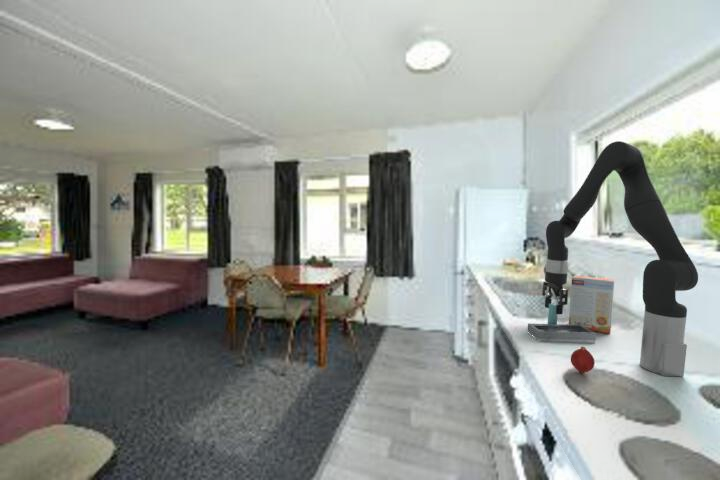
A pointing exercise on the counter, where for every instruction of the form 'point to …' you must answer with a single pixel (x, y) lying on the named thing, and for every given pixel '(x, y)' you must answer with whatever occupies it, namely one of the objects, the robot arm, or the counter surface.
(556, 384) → the counter surface
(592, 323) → the cracker box
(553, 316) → the peg
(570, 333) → the grey rectangular tray
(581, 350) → the onion
